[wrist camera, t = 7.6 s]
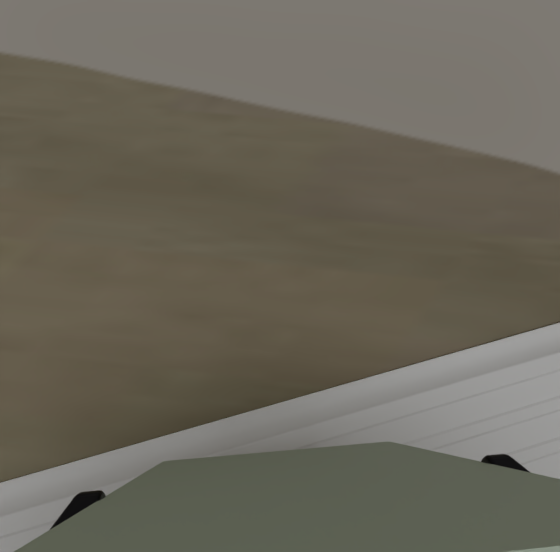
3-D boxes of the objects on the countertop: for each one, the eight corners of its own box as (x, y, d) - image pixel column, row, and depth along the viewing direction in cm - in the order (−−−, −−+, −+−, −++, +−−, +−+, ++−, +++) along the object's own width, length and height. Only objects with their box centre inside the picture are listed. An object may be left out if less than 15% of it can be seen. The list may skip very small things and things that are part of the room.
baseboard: (-22, 450, 21) (21, 777, 19) (-63, 457, 19) (-20, 843, 16) (615, 274, 25) (726, 524, 22) (661, 257, 22) (795, 541, 20)
